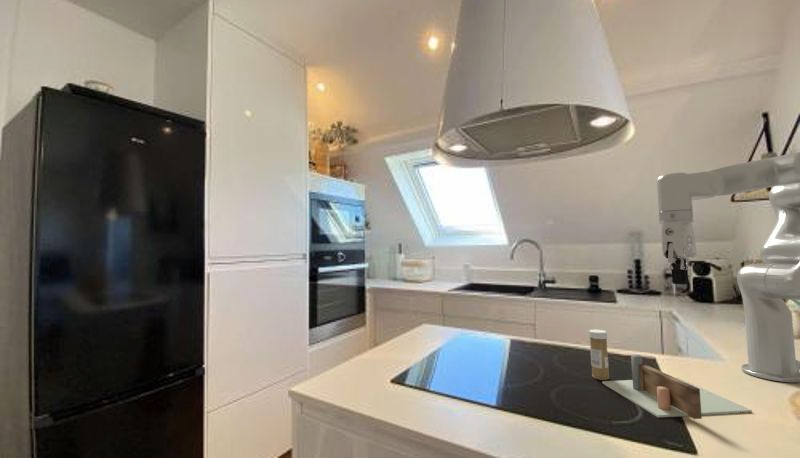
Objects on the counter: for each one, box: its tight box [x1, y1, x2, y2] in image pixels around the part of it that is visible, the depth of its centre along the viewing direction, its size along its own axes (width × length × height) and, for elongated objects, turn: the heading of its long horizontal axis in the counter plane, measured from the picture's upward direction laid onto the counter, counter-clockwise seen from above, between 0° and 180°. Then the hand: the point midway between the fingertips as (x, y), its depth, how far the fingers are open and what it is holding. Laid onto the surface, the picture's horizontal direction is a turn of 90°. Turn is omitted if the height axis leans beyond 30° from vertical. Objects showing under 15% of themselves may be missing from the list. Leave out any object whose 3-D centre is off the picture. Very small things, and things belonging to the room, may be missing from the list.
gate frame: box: [601, 354, 753, 419], centre depth 89 cm, size 22×20×9 cm
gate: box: [639, 363, 703, 420], centre depth 83 cm, size 16×2×6 cm, turn 2°
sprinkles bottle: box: [588, 329, 611, 381], centre depth 103 cm, size 5×5×13 cm
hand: (680, 283), depth 98 cm, fingers closed
